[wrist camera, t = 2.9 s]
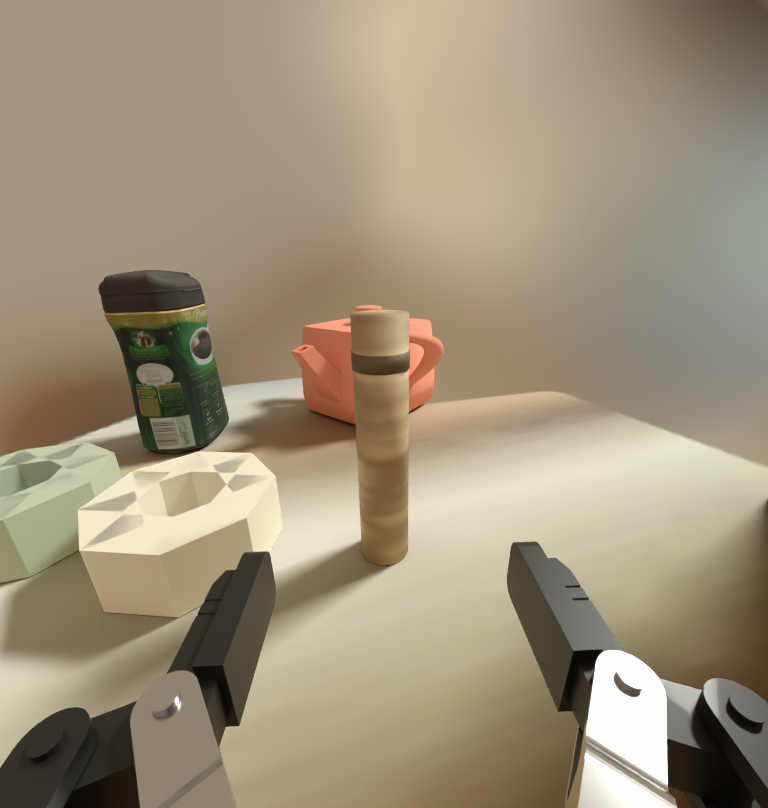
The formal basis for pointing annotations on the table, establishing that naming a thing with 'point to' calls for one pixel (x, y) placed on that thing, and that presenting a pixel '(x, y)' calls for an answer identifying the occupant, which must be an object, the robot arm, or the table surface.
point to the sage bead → (47, 503)
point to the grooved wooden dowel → (382, 430)
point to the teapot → (332, 365)
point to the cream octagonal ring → (176, 530)
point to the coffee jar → (166, 357)
